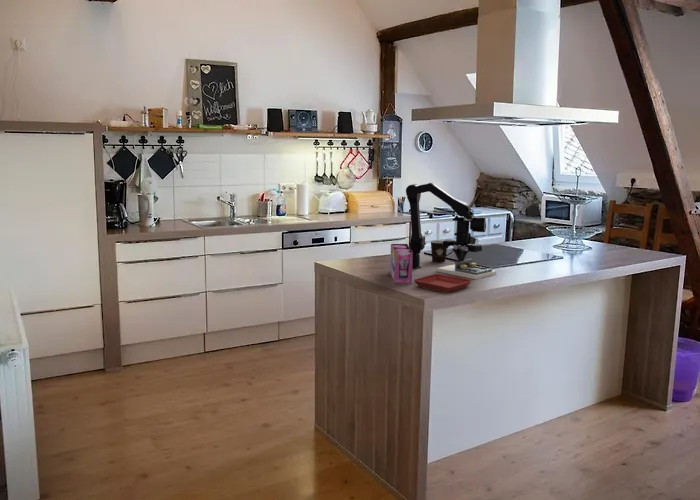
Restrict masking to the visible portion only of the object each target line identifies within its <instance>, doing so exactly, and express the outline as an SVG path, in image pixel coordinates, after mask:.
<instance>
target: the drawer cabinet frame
mask: <svg viewBox="0 0 700 500" xmlns="http://www.w3.org/2000/svg"><path fill="white" fill-rule="evenodd" d="M473 261H474V259H473V258H467V259H464V260H462V261H455V262H454V264H455V271H460V272H465V273H470V274H475V275H478V274H482V273H486V272H490V271H492V270H493V268H489V267H483V266H478V265H476V266H474V267H471V266H469V264H470V263H474V262H473ZM460 265H467V268H465V269H462V268H460Z"/></svg>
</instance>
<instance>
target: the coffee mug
mask: <svg viewBox="0 0 700 500" xmlns="http://www.w3.org/2000/svg"><path fill="white" fill-rule="evenodd" d="M443 241H444V240H437V239H436V240H431V241H430V249H431V250H430V251H431V262H433V263H438V264H439V263H445V262H446V258H447V256H449V255H451V254H452V253H455V252H454V250H452V251H451V252H449V253H448V254H447V251H448V249H449V247H450V246H448V247H443V246H442V243H443Z"/></svg>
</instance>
